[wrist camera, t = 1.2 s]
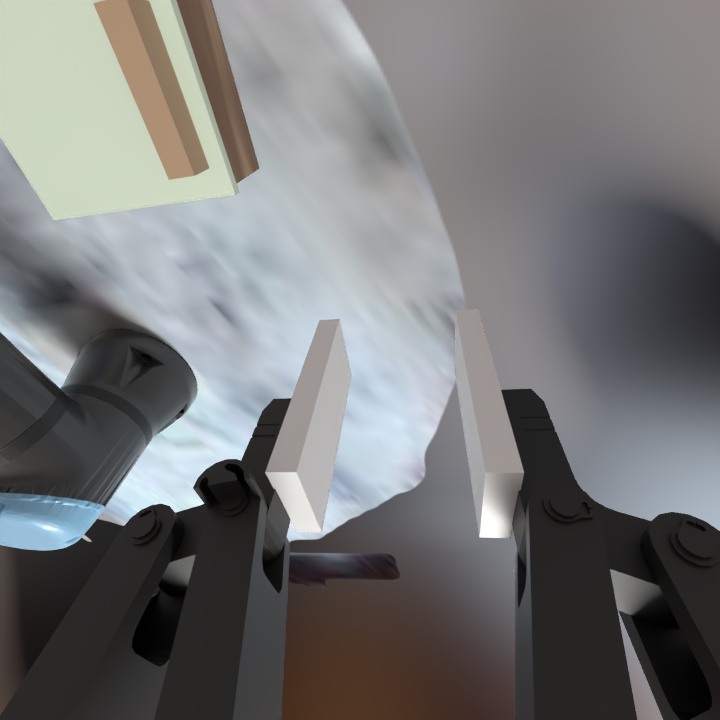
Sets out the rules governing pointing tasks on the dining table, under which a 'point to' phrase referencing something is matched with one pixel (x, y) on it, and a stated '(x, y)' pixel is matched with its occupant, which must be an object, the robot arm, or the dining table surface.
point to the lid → (107, 106)
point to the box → (219, 84)
